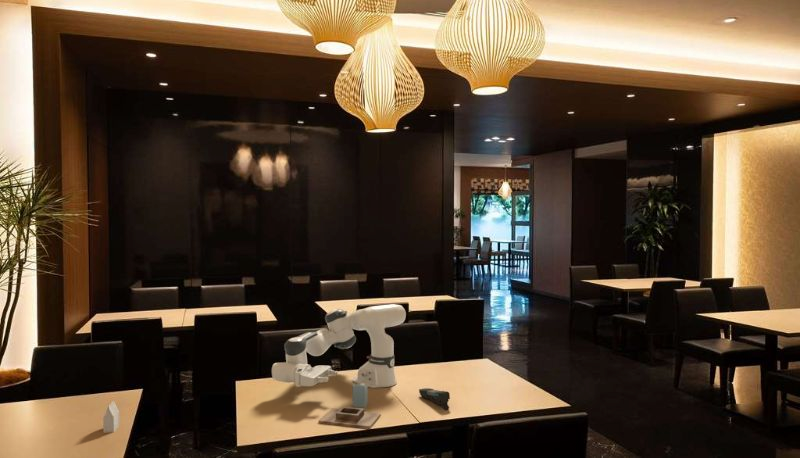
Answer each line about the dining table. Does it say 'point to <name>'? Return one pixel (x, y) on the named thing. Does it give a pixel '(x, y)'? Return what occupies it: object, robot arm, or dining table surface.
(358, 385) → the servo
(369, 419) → the walnut board
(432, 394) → the gun
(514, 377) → the dining table surface
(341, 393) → the dining table surface
